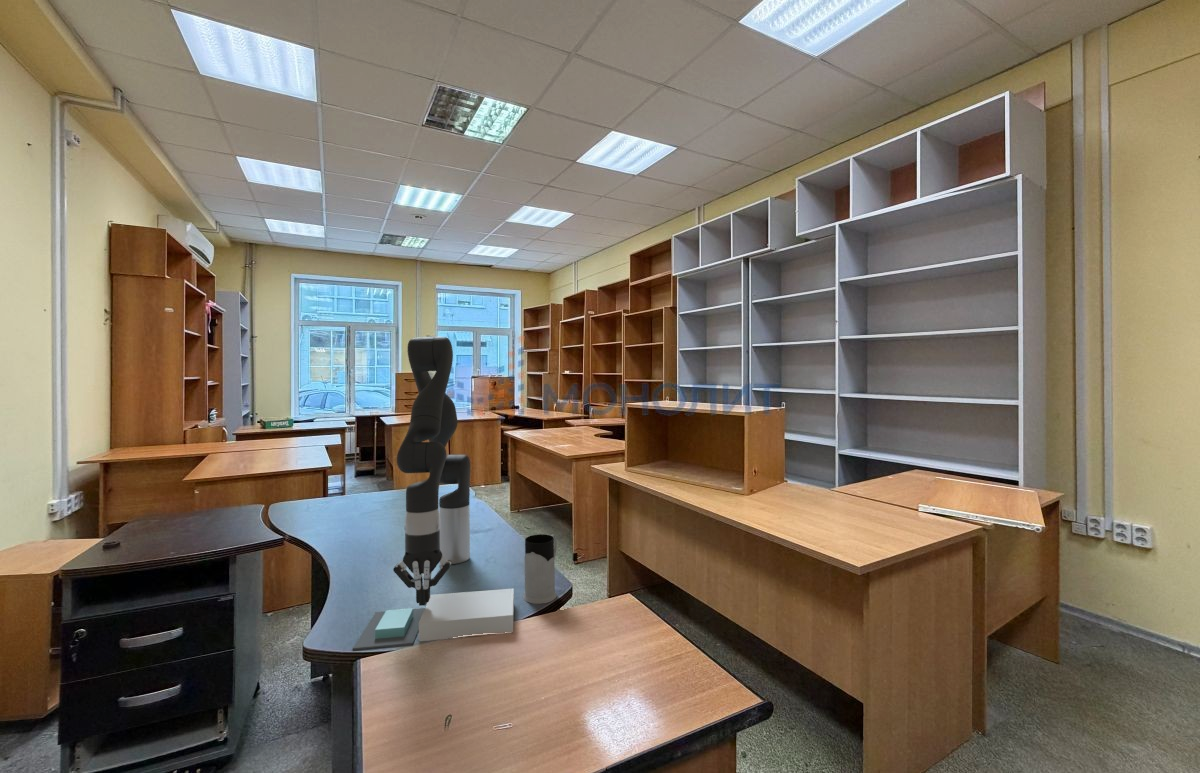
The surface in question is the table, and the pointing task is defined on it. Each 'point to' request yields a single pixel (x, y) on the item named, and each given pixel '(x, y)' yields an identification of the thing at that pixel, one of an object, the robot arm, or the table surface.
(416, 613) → the mat
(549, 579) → the glass holder
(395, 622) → the teal rectangular box
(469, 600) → the plate
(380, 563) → the table surface
